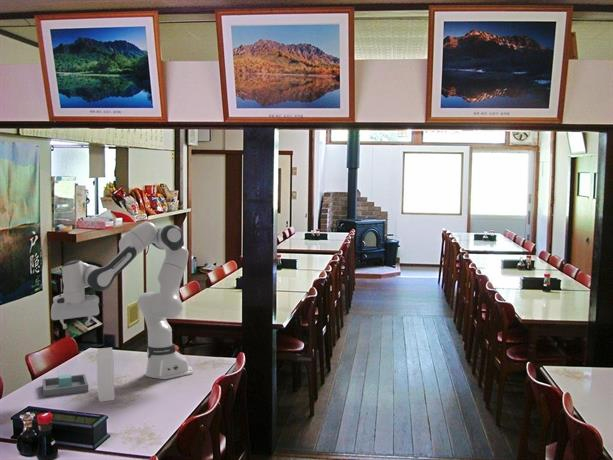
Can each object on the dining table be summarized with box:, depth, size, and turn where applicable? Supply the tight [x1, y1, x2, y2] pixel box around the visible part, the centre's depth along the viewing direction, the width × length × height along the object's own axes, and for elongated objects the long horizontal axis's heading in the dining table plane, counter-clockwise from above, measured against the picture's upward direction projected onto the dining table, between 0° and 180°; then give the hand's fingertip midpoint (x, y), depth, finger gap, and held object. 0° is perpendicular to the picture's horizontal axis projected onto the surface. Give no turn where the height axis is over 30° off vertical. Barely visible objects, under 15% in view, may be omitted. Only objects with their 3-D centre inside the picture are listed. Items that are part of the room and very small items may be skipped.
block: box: [58, 373, 72, 388], centre depth 273 cm, size 5×5×5 cm
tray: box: [42, 373, 89, 398], centre depth 273 cm, size 18×16×3 cm
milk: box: [96, 347, 115, 403], centre depth 261 cm, size 6×6×22 cm
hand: (76, 327), depth 275 cm, fingers open, 8 cm apart
